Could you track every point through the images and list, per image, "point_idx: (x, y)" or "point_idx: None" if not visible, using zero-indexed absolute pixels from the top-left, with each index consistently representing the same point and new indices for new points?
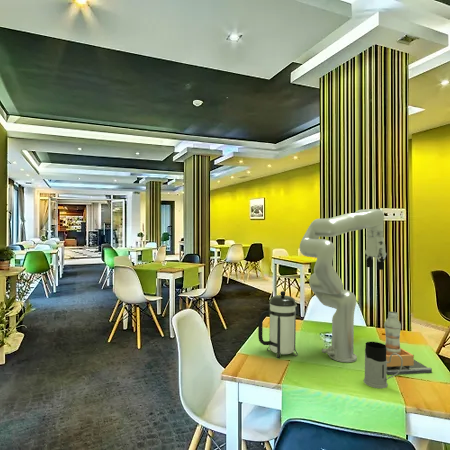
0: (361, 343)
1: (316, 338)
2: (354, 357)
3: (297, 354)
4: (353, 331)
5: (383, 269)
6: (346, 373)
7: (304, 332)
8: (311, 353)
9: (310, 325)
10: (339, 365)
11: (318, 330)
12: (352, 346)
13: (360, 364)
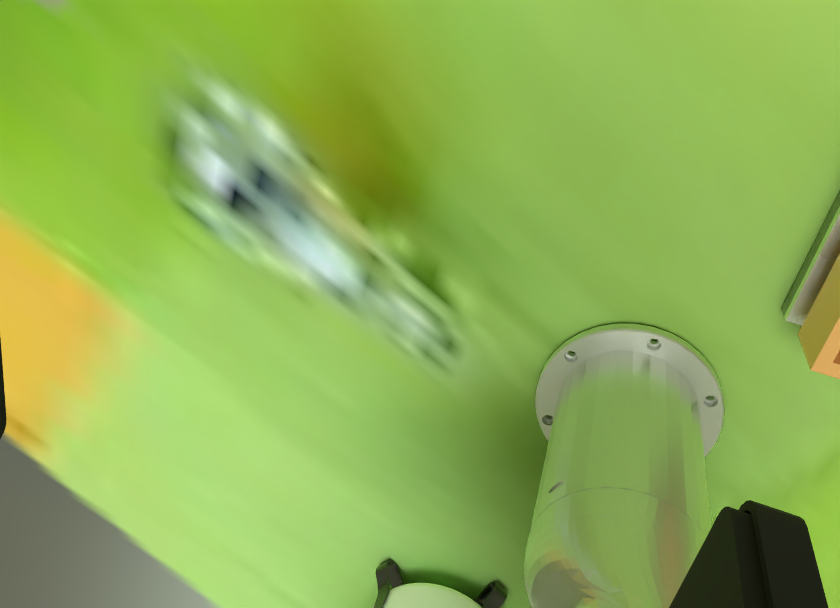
0: (463, 70)
1: (280, 309)
2: (701, 381)
3: (502, 591)
4: (695, 490)
5: (790, 523)
6: (822, 547)
7: (156, 300)
8: (498, 504)
9: (14, 154)
10: (715, 501)
11: (128, 178)
12: (700, 439)
13: (772, 391)
